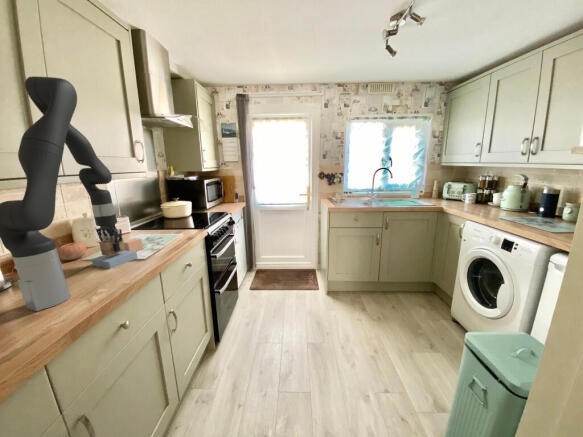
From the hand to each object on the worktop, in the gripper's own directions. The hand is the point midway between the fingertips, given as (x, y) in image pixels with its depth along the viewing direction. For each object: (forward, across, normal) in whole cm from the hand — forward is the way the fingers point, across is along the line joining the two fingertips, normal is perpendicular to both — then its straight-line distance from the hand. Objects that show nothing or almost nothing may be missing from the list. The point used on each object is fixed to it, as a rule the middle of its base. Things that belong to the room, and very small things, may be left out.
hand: (113, 250), depth 104 cm
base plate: (+5, 0, 0) cm, 5 cm away
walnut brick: (+1, 0, 0) cm, 1 cm away
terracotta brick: (+6, -5, +12) cm, 14 cm away
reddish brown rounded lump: (+6, -26, -3) cm, 27 cm away
